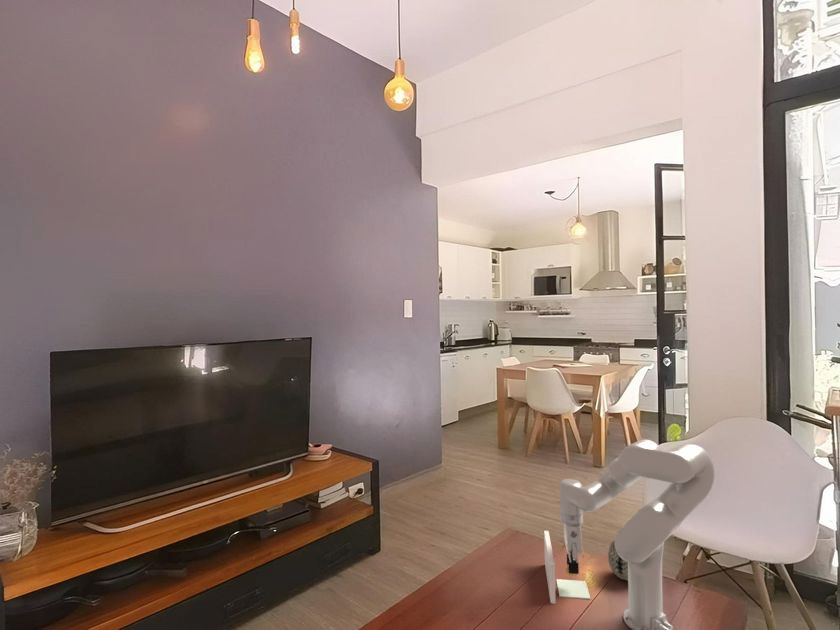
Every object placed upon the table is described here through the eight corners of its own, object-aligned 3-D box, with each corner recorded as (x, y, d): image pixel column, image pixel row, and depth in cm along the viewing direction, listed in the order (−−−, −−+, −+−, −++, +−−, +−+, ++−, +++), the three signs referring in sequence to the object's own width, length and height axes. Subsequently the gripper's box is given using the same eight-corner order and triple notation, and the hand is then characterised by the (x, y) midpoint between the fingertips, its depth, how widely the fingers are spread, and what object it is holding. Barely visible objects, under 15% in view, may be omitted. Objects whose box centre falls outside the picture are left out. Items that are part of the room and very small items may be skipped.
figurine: (557, 575, 165) (557, 541, 165) (563, 567, 170) (563, 534, 170) (581, 583, 160) (581, 548, 160) (587, 574, 165) (586, 540, 165)
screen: (555, 603, 157) (554, 564, 156) (550, 603, 157) (549, 564, 157) (549, 565, 180) (548, 530, 180) (544, 564, 181) (544, 530, 180)
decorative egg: (648, 577, 170) (648, 536, 170) (637, 592, 162) (636, 548, 162) (615, 566, 178) (615, 526, 178) (603, 579, 170) (602, 537, 170)
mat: (590, 599, 158) (590, 598, 158) (559, 596, 160) (559, 595, 160) (585, 582, 168) (585, 581, 168) (556, 580, 170) (556, 579, 170)
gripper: (586, 528, 155) (588, 584, 155) (579, 507, 171) (580, 557, 172) (563, 527, 156) (564, 582, 157) (557, 506, 173) (558, 556, 173)
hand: (572, 568), depth 164 cm, fingers closed on figurine, 3 cm apart
